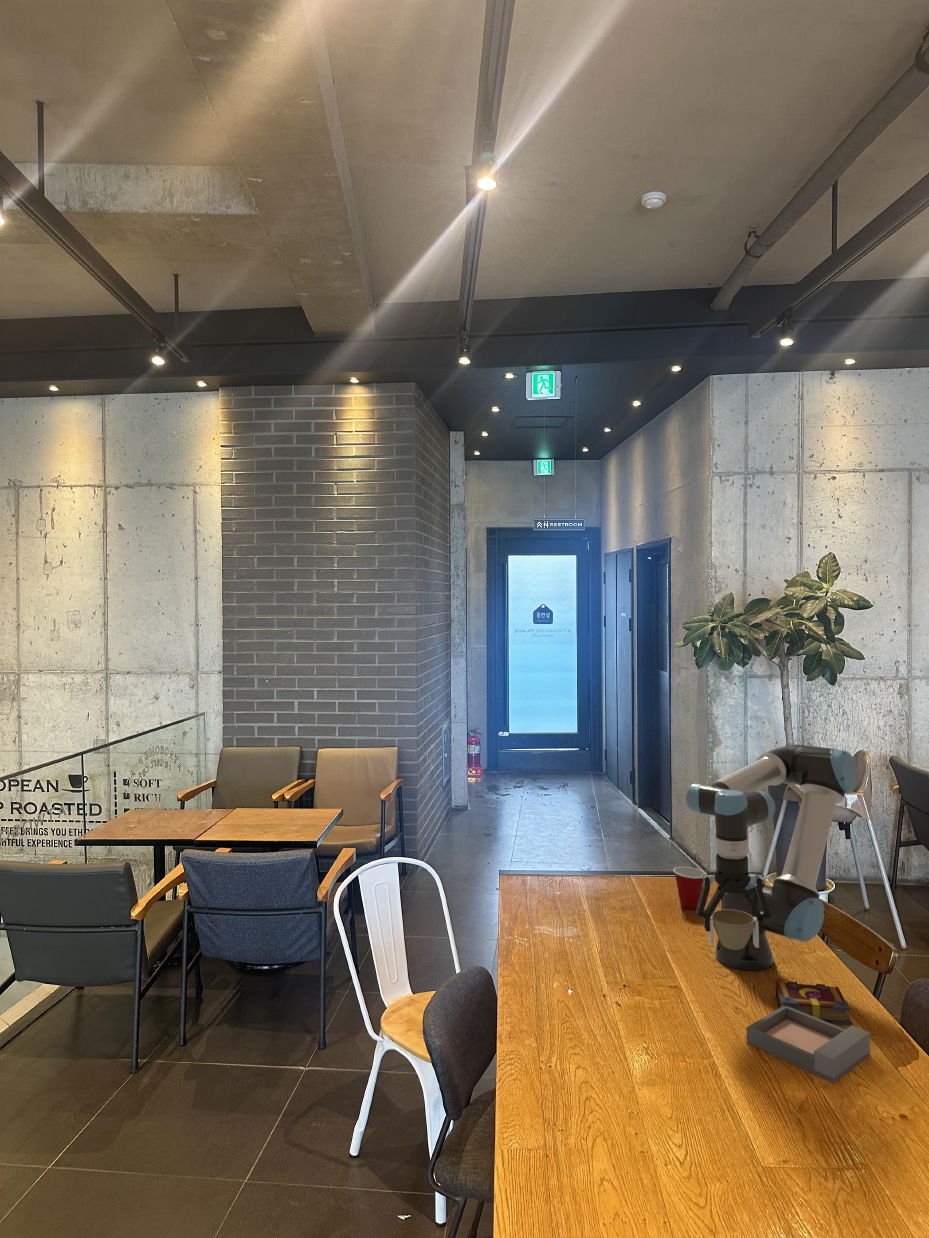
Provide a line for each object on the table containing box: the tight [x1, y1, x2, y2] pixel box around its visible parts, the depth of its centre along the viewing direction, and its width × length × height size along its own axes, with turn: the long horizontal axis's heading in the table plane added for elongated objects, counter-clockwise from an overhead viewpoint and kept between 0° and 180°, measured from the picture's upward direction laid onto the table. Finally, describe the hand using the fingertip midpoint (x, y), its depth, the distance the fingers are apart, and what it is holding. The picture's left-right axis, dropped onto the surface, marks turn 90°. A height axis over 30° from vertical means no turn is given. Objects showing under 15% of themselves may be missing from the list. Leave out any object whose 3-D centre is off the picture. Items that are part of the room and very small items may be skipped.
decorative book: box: [775, 980, 853, 1026], centre depth 191 cm, size 11×16×5 cm
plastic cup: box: [672, 866, 708, 911], centre depth 261 cm, size 11×11×12 cm
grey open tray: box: [746, 1005, 871, 1084], centre depth 175 cm, size 16×20×5 cm
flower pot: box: [712, 909, 755, 950], centre depth 194 cm, size 10×10×7 cm
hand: (733, 944), depth 194 cm, fingers closed on flower pot, 10 cm apart
